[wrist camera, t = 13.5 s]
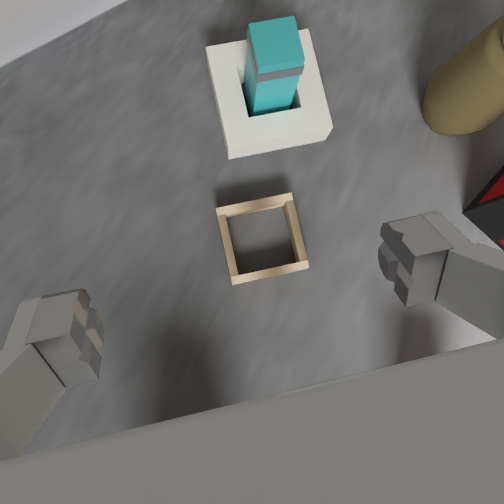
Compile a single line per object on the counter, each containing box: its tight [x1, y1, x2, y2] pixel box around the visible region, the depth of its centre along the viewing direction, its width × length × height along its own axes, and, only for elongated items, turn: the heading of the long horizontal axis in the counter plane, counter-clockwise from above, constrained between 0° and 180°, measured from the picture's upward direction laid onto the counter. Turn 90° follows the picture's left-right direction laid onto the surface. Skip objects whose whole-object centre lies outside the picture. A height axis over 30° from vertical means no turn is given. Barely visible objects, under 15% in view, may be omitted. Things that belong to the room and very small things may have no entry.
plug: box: [244, 16, 305, 117], centre depth 39 cm, size 4×4×11 cm
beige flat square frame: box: [216, 192, 309, 285], centre depth 42 cm, size 8×8×2 cm
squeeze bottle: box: [422, 17, 504, 136], centre depth 37 cm, size 8×8×18 cm
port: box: [206, 29, 333, 159], centre depth 43 cm, size 11×11×4 cm
